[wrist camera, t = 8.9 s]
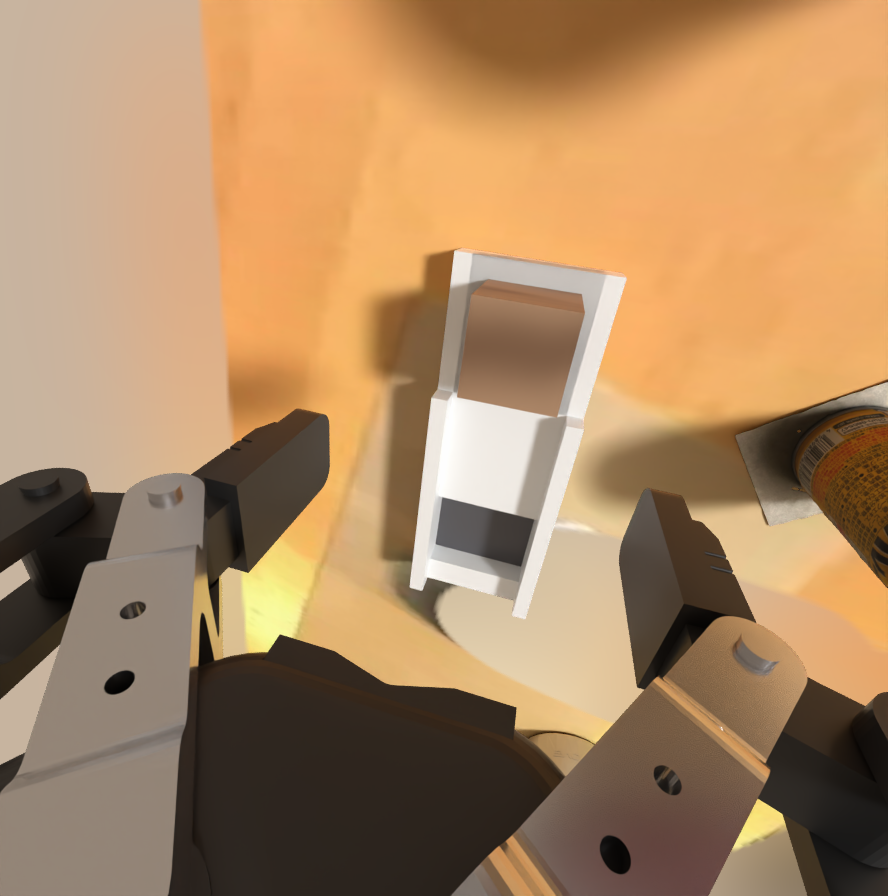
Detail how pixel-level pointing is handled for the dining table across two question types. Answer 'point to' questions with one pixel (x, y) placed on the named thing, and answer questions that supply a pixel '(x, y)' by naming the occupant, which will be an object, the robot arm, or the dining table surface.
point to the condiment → (828, 469)
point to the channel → (503, 443)
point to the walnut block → (520, 346)
